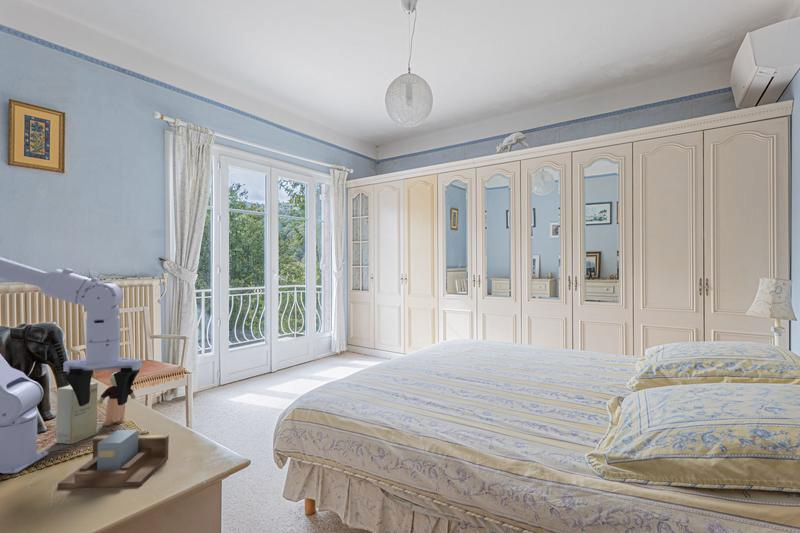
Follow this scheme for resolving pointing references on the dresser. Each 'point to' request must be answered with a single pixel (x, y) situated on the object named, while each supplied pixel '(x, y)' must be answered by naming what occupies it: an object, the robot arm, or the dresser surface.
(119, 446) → the cabinet block
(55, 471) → the dresser surface
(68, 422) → the skincare box
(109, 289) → the robot arm
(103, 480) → the rack
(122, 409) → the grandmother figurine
